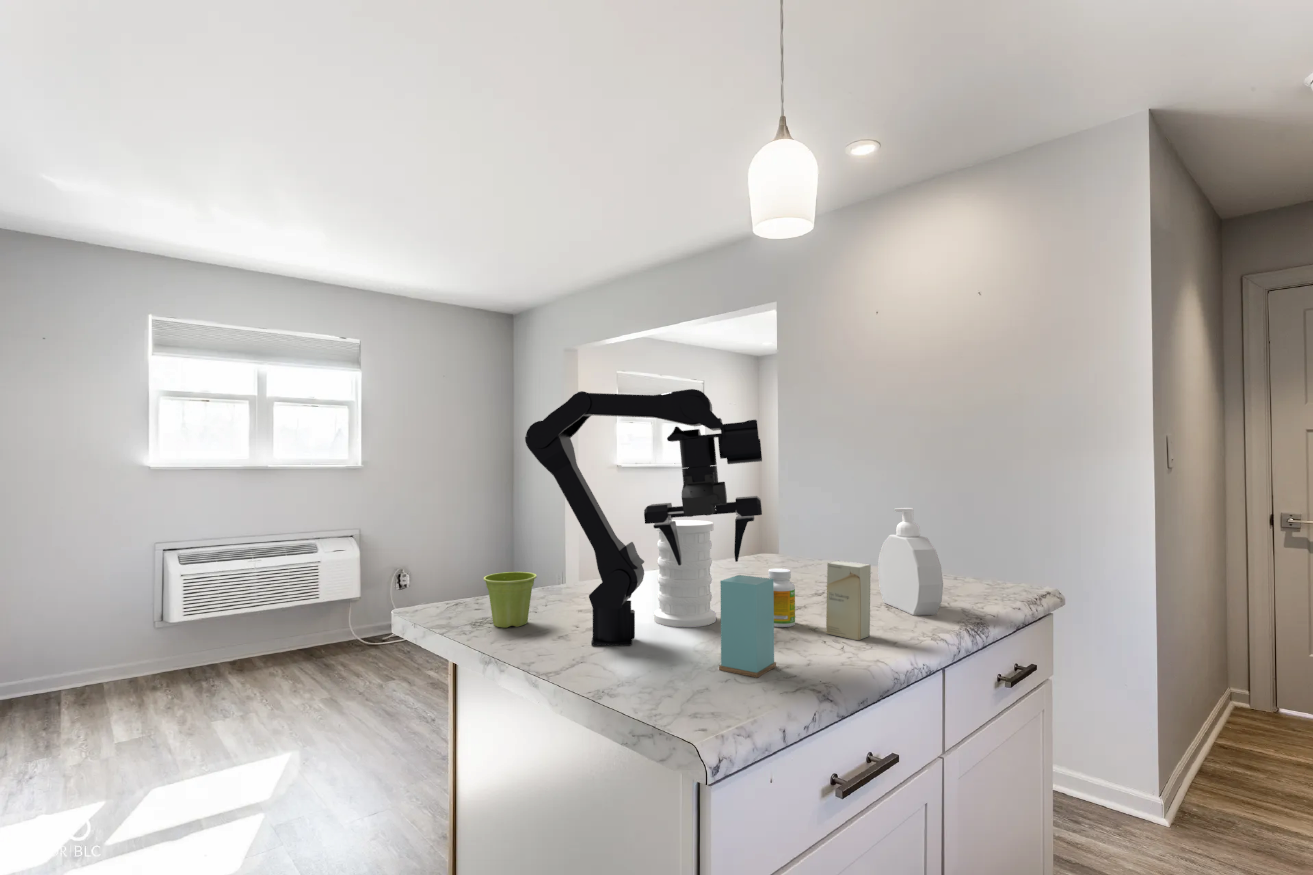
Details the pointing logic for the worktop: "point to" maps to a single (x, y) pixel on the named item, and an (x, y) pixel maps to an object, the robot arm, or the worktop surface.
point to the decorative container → (686, 577)
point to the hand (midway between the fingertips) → (708, 563)
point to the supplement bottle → (783, 597)
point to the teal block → (747, 623)
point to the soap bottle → (910, 569)
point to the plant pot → (510, 597)
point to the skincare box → (848, 599)
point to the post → (748, 671)
